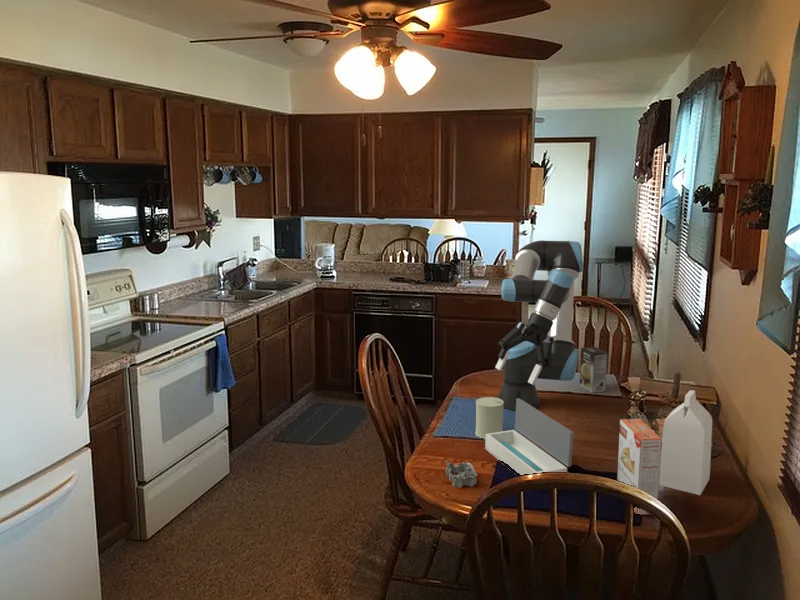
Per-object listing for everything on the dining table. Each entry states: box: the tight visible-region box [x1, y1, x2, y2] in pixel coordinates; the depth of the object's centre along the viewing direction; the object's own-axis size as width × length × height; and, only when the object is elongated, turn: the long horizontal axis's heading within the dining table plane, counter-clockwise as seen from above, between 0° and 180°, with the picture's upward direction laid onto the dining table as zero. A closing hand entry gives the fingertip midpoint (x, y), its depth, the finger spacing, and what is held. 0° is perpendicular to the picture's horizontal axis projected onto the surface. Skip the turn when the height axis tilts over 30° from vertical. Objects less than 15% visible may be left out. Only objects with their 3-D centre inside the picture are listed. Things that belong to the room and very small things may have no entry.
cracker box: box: [616, 418, 662, 516], centre depth 180 cm, size 14×6×21 cm, turn 3°
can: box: [475, 396, 504, 440], centre depth 227 cm, size 9×9×12 cm
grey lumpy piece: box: [445, 460, 478, 489], centre depth 196 cm, size 11×8×4 cm
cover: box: [514, 398, 575, 468], centre depth 205 cm, size 10×30×1 cm
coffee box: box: [579, 346, 608, 394], centre depth 272 cm, size 9×6×16 cm
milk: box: [659, 389, 713, 496], centre depth 192 cm, size 12×12×26 cm
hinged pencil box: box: [484, 429, 568, 475], centre depth 204 cm, size 10×30×5 cm, turn 20°
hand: (514, 376), depth 220 cm, fingers open, 13 cm apart
